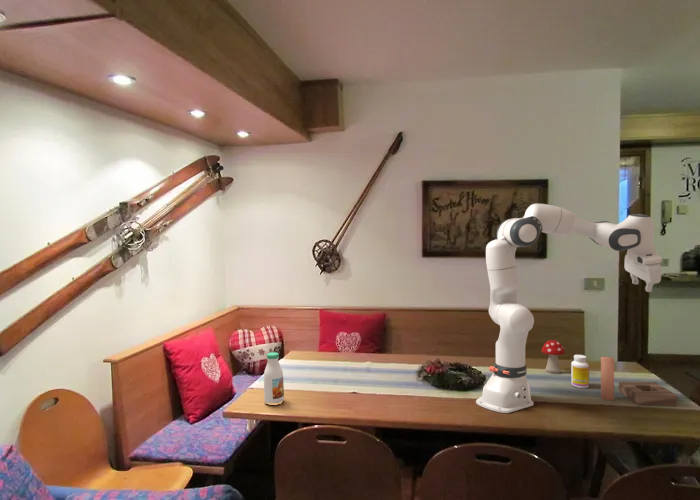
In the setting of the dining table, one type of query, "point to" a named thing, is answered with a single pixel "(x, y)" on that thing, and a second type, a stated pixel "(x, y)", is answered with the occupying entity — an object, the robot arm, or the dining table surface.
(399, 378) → the dining table surface
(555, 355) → the decorative mushroom
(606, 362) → the peg
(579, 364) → the supplement bottle
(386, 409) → the dining table surface
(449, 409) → the dining table surface
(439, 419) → the dining table surface
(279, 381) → the milk bottle
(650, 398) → the socket
